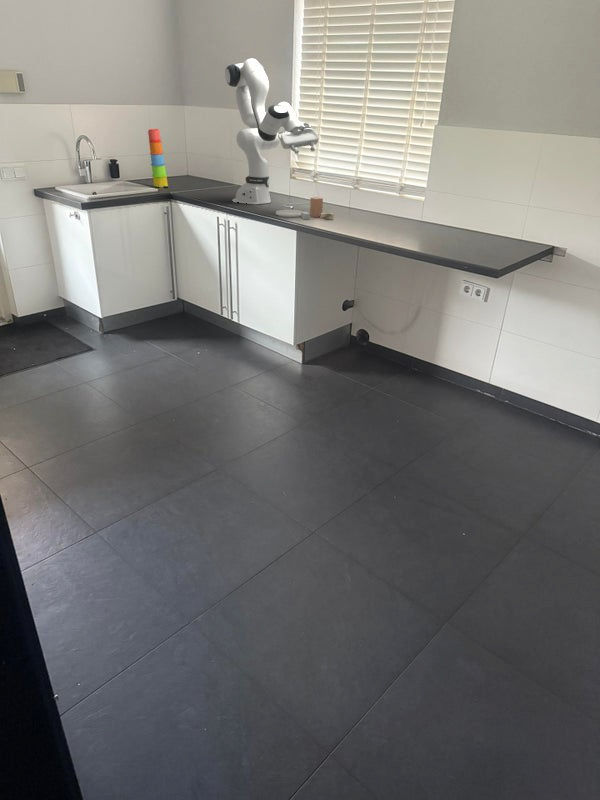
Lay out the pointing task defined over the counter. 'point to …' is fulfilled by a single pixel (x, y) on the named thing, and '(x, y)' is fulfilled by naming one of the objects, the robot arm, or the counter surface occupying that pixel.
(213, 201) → the counter surface
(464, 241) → the counter surface
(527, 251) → the counter surface
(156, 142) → the stacking cups
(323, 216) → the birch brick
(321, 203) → the orange cylinder
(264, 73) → the robot arm
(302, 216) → the grey brick
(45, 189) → the counter surface
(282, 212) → the cream plate
